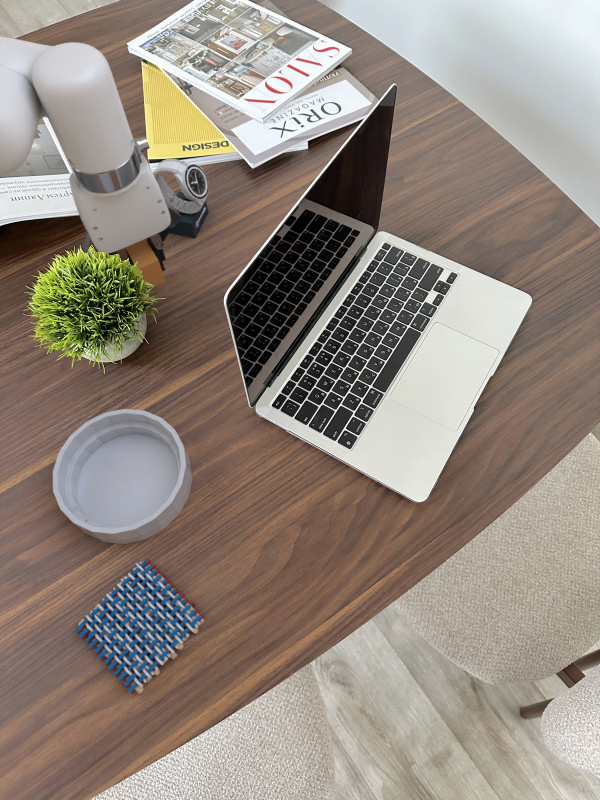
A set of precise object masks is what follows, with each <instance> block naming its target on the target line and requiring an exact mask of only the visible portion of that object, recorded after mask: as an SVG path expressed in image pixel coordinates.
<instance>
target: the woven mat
mask: <svg viewBox="0 0 600 800" xmlns="http://www.w3.org/2000/svg"><path fill="white" fill-rule="evenodd" d="M151 562H152V561H151V560H150V559H149V558H148V559H147V560H146V559H145V560H142V561H139V562H136V563H135V565H136V566H135V567H133V568H132V573H130V572H128V574H127V576H126V575H125V576H123V577H121V578H120V581H119V583H118V582H117V584H116V586H117V587H113V589H112V590H113V591H108V593H106V594H105V596H106V598H104V597H103V598H102V599H101V601H102V602H101V603H97V604H96V605H95V607H94V608H93V610H91V611H90V612H89V613H88V614H86V615H85V618H82V619H81V620H80V621H79V622H78V624H77V626H78V627H76V629H75V631H76V632H77V633H78V636H79V638H82V639H83V640H85V642H86V643H87V644H88V647H89V648H90V649H92V650H94V649H95V648H96V647H97V648H96V649H95V650H94V653H95V654H96V655H98V656H97V657H98V659H99V660H102V661H104V662H103V663H104V664H105V665H106V666H108V667H107V669H108V670H109V671H111V672H113V671H114V670H115V669H116V670H115V671H114V672H113V674H114V675H115V676H116V677H117V680H118V682H121V683H122V682H124V681H125V680H126V681H125V682H124V684H123V686H124V687H125V688H126V689H127V692H128V693H129V694H131V695H133V694H134V693H135V692H137V694H139V695H140V694H142V693H143V692H144V690H145V688H144V684H146V683H147V684H148V683H149V682H150V681H151V680H152V679H153V677H152V676H154V675H156V676H158V675H159V674H160V673H161V672H160V668H159V665H161V666H164V665H165V664H166V663H167V661H168V660H169V658H170V659H171V660H175V659H176V658H178V654H177V653H176V651H175V649H177V651H181V650H183V649H184V644H183V643H184V642H185V641H187V640H188V639H189V638H190V632H192V633H193V634H195V635H197V634H198V632H199V626H201V625H202V624H203V623H204V622H205V619H204V617H205V615H204V613H200V614H199V612H200V610H199V608H195V607H196V604H197V603H195V602H192V603H191V604H190V603H189V602H190V600H189V598H186V599H185V598H184V597H185V596H186V594H185V593H184V592H182V593H179V592H180V589H179V588H176V589H175V588H174V587H176V586H175V584H174V583H171V584H170V582H171V580H170V579H169V578H166V577H167V575H166V574H165V573H163V574H162V575H161V574H160V572H161V570H160V569H159V568H157V569H156V567H157V565H156V564H155V563H154V564H152V565H151ZM185 627H186V628H185ZM184 628H185V629H184ZM128 634H129V635H128ZM170 643H171V644H170ZM169 644H170V645H169ZM144 649H145V650H144ZM143 650H144V651H143ZM138 677H139V678H138Z"/></svg>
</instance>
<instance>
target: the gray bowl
mask: <svg viewBox="0 0 600 800" xmlns="http://www.w3.org/2000/svg"><path fill="white" fill-rule="evenodd" d="M53 466H54V467H53V469H52V492H53V494H54V497H55V500H56V502H57V505H58V507H59V509H60V510H61V512H62V513H63V514H64V515H65V516H66V517H67V518H68V519H69V521H71V522H72V523H73V524H74V525H75V526H76V527H77V528H79V530H81V531H82V532H83V533H84V534H86V535H88V536H89V537H92V538H94V539H96V540H99V541H100V542H102V543H106V544H107V543H108V544H117V545H127V544H132V543H137V542H143V541H146V540H147V539H150V538H151V537H153V536H155V535H158V534H159V533H160V532H163V531H164V530H165V529H166V528H167V527H168V526H169V525H170V524H171V523H173V521H174V520H175V519H176V518H178V516H180V514H181V512H182V510H183V508H184V507H185V505H186V503H187V501H188V499H189V497H190V494H191V489H192V485H193V469H192V462H191V458H190V456H189V454H188V452H187V450H186V447H185V445H184V444H183V442H182V440H181V438H180V436H179V434H178V432H177V431H176V429H175V428H174V427H173V426H172V425H171V424H169V422H167V421H166V420H165V419H164V418H162V417H160V416H158V415H156V414H154V413H151V412H149V411H146V410H142V409H132V408H122V409H117V410H112V411H107V412H104V413H102V414H98V415H97V416H95V417H93V418H91V419H89V420H87V421H85V422H84V423H83V424H82V425H81V426H79V427H78V428H77V429H75V430H74V431H73V432H72V433H71V434H70V435H69V436H68V438H67V439H66V441H65V443H64V444H63V445H62V447H61V449H60V450H59V452H58V453H57V457H56V460H55V463H54V465H53Z"/></svg>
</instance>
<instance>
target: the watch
mask: <svg viewBox="0 0 600 800" xmlns="http://www.w3.org/2000/svg"><path fill="white" fill-rule="evenodd" d="M160 173H171V174H174V175H173V177H174V179H175V181H176V182H178V184H179V188H180V190H181V191H178V192H177V194H176V192H175V191H173V189H172V188H171V186H169V184H168V183H167V182H166V180H165V179H164V177H163V176H161V174H160ZM153 175H154V177H155V179H156V181H157V183H158V185H159V187H160V190H161V192H162V195H163V197H164V200H165V202H167V203H168V204H169V205H171V206H172V207H173V208H175V209H176V210H177V211H178V213H179V214H180V216H181V220H180V221H179V222H178V223H177V224H176V225H175V226H174V227H173V228H171V229H170V232H169V234H173V235H178V236H182V237H187V238H191V239H196V238H197V236H198V234H199V232H200V230H201V228H202V226H203V225H204V223H205V220H206V218H207V216H208V214H209V208H208V204H207V197H208V196H209V192H210V183H209V179H208V176H207V173H206V171H204V168H203V167H202V166H200V165H198V164H196V163H191V162H189V161H186V160H185V159H183V160H181V159H177V158H166V159H164V160H161V161H160V162H159V163H158V165H157V166H156V168H155V170H154V172H153Z"/></svg>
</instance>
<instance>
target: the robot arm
mask: <svg viewBox="0 0 600 800" xmlns="http://www.w3.org/2000/svg"><path fill="white" fill-rule="evenodd" d="M44 118H47V119H48V121H49V124H50V126H51V129H52V130H53V133H54V134H55V137H56V139H57V141H58V143H59V145H60V148H61V150H62V152H63V155H64V157H65V159H66V161H67V163H68V166H69V168H70V171H71V173H70V175H69V178H68V179H69V187H70V191H71V195H72V198H73V202H74V204H75V207H76V210H77V212H78V215H79V217H80V220H81V223H82V224H83V227H84V229H85V231H86V232H85V233H86V234H85V238H84V243H83V249H82V251H83V254H85V253H87V252H88V249H89V247H90V246H91V245H93V247H94V249H95V251H96V252H98V251H99V252H106V253H108V254H109V255H114V254H119V255H120V258H121V260H122V261H124V260H127V259H128V258H129V262H130V264H131V265H134V264H133V262H132V260H131V258H130V256H129V255H128V253H127V251H126V249H125V247H127V246H130V245H132V244H134V243H137V242H139V241H141V240H144V239H146V240H147V242H148V244H149V245H150V247H151V249H152V250H153V252H154V254H155V255H156V257H157V259H158V261H159V264H160V266H161V269H162V272H165V271H166V268H165V265H164V262H165V261H166V260H167V258H166V255H165V252H164V249H163V248H164V247H165V244H164V243H165V240H166V239H167V238H168V236H169V234H170V233H169V232H170V229H171V228H173V227H174V226H175V225H176V224H177V223H178V222H179V221H180V220H181V216H180V214H179V213H178V211H177V210H176V209H175V208H173V207H172V206H171V205H169V204H168V203H167V202H165V200H164V197H163V195H162V192H161V190H160V187H159V185H158V183H157V181H156V179H155V177H154V175H153V173H154V172H153V170H152V168H151V166H150V164H149V162H148V161H147V159H146V157H145V155H144V154H143V153H144V152H145V151H147V150H149V149H150V144H149V141H148V139H147V137H145V136H143V137H142V136H141V137H140V138H139V137H136V138H135V136H133V133H132V131H131V128H130V125H129V122H128V119H127V116H126V112H125V110H124V106H123V103H122V100H121V97H120V94H119V91H118V88H117V84H116V82H115V79H114V75H113V71H112V69H111V67H110V64H109V62H108V61H107V58H106V57H105V55H104V54H103V53H102V52H101V51H100V50H99V49H97V48H95V47H94V46H92V45H90V44H87V43H84V42H76V41H75V42H73V41H72V42H71V41H70V42H64V43H59V44H56V45H48V44H41V43H37V42H31V41H27V40H23V39H17V38H14V37H13V38H12V37H5V36H0V174H7V173H11V172H14V171H16V170H18V169H19V168H20V167H21V166H23V164H25V162H26V161H27V159H28V158H29V156H30V153H31V151H32V148H33V145H34V142H35V139H36V134H37V131H38V128H39V124H40V121H41V120H42V119H44ZM91 247H92V246H91ZM93 247H92V248H93Z"/></svg>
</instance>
